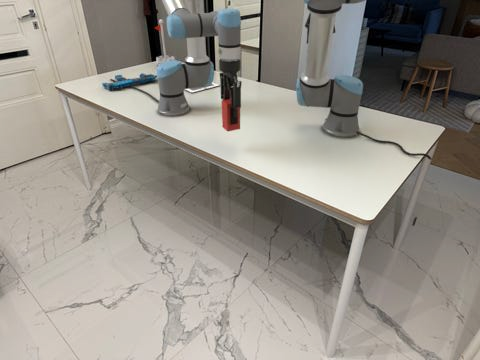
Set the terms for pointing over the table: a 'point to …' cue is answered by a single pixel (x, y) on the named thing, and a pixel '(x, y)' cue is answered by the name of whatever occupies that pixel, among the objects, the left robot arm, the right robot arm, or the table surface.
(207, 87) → the tablet
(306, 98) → the right robot arm
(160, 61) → the flag stand
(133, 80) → the submachine gun
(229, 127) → the brick
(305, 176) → the table surface
